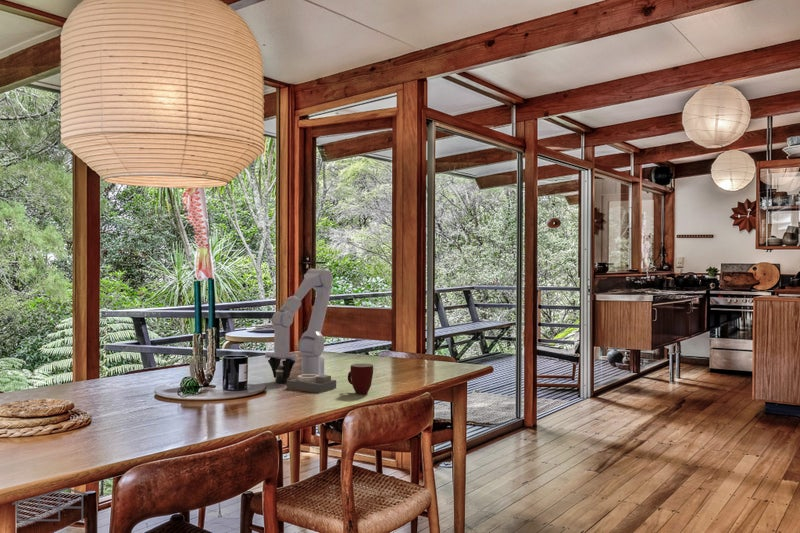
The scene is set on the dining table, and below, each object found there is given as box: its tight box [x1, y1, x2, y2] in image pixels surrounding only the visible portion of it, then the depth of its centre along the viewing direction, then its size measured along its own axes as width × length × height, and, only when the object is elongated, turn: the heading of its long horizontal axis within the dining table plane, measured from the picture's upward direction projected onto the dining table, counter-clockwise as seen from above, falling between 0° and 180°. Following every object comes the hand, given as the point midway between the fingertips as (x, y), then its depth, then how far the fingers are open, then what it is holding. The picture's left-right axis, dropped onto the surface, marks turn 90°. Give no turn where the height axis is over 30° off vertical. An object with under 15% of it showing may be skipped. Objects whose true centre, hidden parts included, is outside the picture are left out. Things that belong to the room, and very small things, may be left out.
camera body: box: [286, 373, 337, 394], centre depth 231 cm, size 10×15×5 cm, turn 63°
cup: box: [188, 357, 207, 378], centre depth 233 cm, size 8×8×10 cm
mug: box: [347, 363, 374, 395], centre depth 224 cm, size 10×8×10 cm
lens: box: [275, 364, 288, 384], centre depth 242 cm, size 5×5×6 cm
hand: (281, 377), depth 242 cm, fingers closed on lens, 4 cm apart
